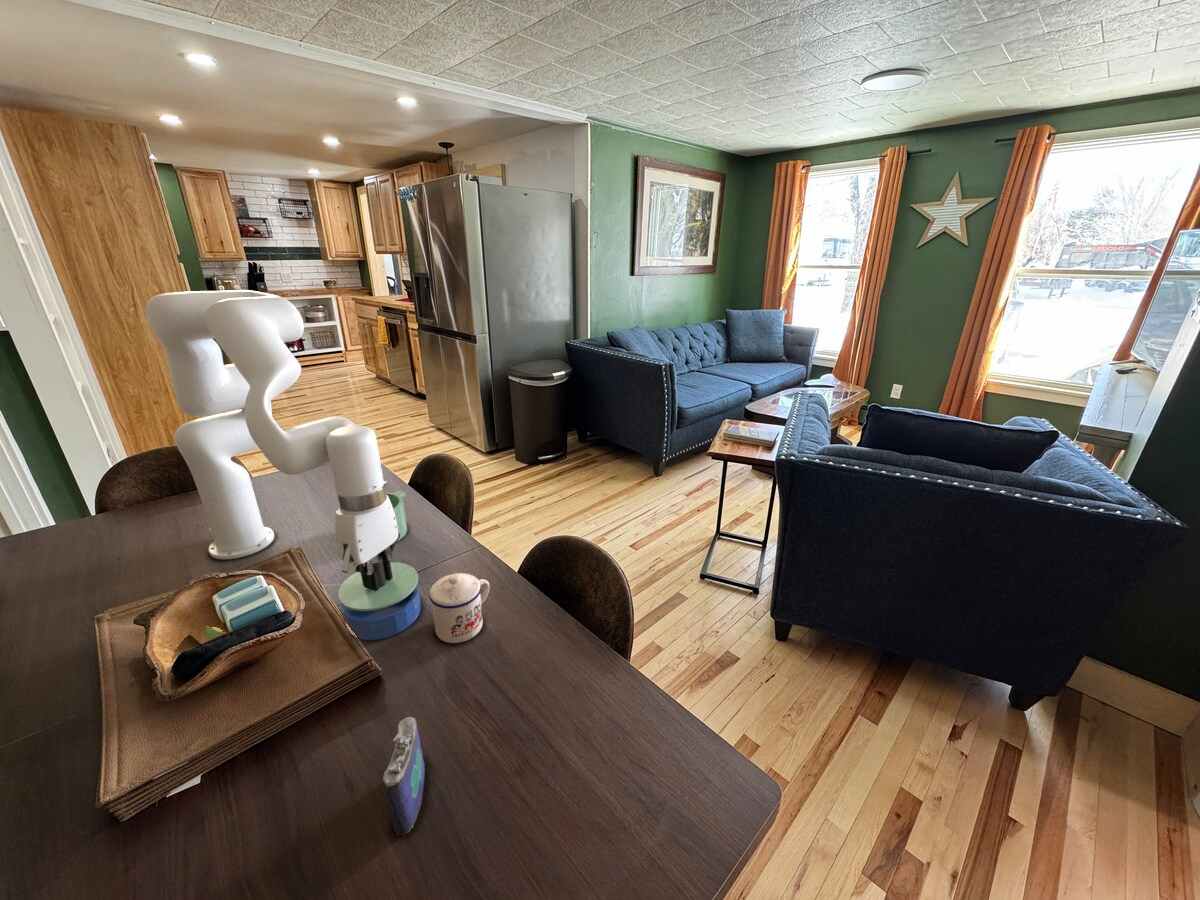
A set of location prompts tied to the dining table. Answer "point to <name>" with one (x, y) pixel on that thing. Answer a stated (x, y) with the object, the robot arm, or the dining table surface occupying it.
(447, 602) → the teacup with lid
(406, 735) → the flask
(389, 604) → the lid
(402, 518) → the pot
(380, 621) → the bowl
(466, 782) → the dining table surface
